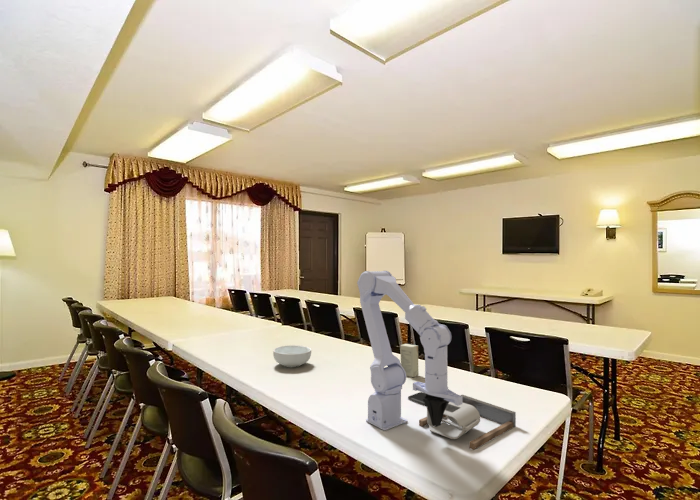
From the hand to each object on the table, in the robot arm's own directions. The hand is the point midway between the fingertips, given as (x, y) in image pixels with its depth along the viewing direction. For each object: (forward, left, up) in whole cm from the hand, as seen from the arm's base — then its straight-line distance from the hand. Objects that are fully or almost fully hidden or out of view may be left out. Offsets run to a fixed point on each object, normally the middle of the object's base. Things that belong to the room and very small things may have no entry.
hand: (436, 425), depth 95 cm
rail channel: (+14, 0, -4) cm, 15 cm away
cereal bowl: (+5, +84, -4) cm, 84 cm away
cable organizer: (+8, +1, -4) cm, 10 cm away
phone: (+20, +17, -5) cm, 27 cm away
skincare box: (+36, +42, -4) cm, 56 cm away
